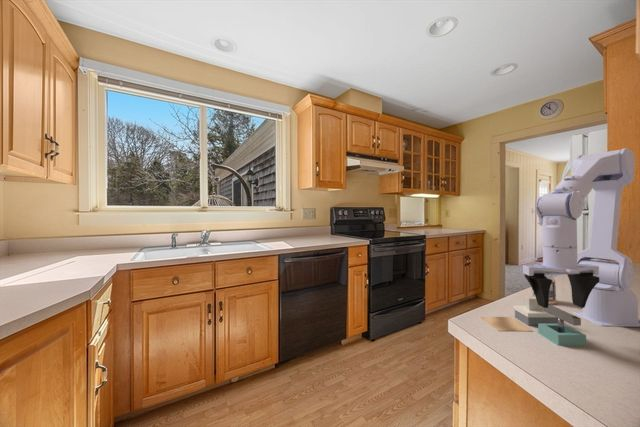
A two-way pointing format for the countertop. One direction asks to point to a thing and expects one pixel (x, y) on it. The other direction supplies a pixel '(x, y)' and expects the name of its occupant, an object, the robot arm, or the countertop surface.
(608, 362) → the countertop surface
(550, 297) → the pill bottle
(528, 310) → the cover
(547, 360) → the countertop surface
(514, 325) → the cork mat
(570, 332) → the key socket
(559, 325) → the t key
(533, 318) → the box
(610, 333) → the countertop surface
